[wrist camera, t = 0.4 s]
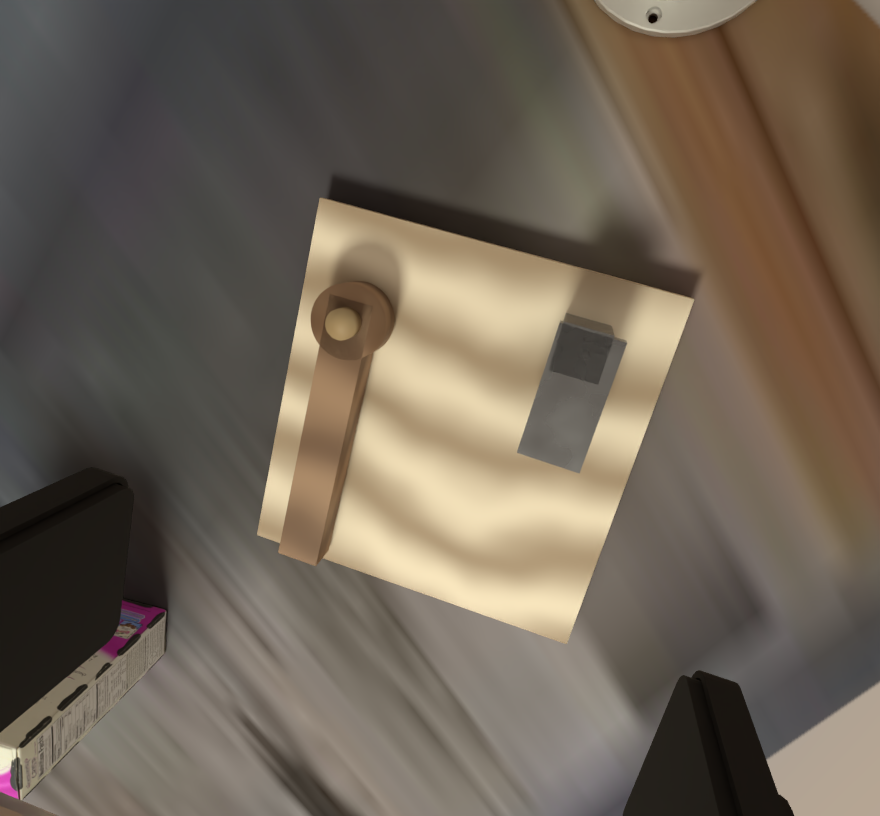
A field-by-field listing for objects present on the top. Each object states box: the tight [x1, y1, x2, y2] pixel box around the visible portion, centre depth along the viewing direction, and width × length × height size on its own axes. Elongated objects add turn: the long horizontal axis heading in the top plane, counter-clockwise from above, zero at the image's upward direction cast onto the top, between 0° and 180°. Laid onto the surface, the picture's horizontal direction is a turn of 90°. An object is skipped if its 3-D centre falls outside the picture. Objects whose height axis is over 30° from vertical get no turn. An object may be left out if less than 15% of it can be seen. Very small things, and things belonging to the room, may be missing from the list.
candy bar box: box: [0, 598, 167, 801], centre depth 51 cm, size 11×5×16 cm, turn 82°
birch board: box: [257, 198, 694, 644], centre depth 46 cm, size 26×25×2 cm
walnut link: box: [278, 281, 394, 566], centre depth 45 cm, size 20×5×4 cm, turn 166°
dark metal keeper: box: [517, 313, 627, 474], centre depth 41 cm, size 9×4×4 cm, turn 166°
